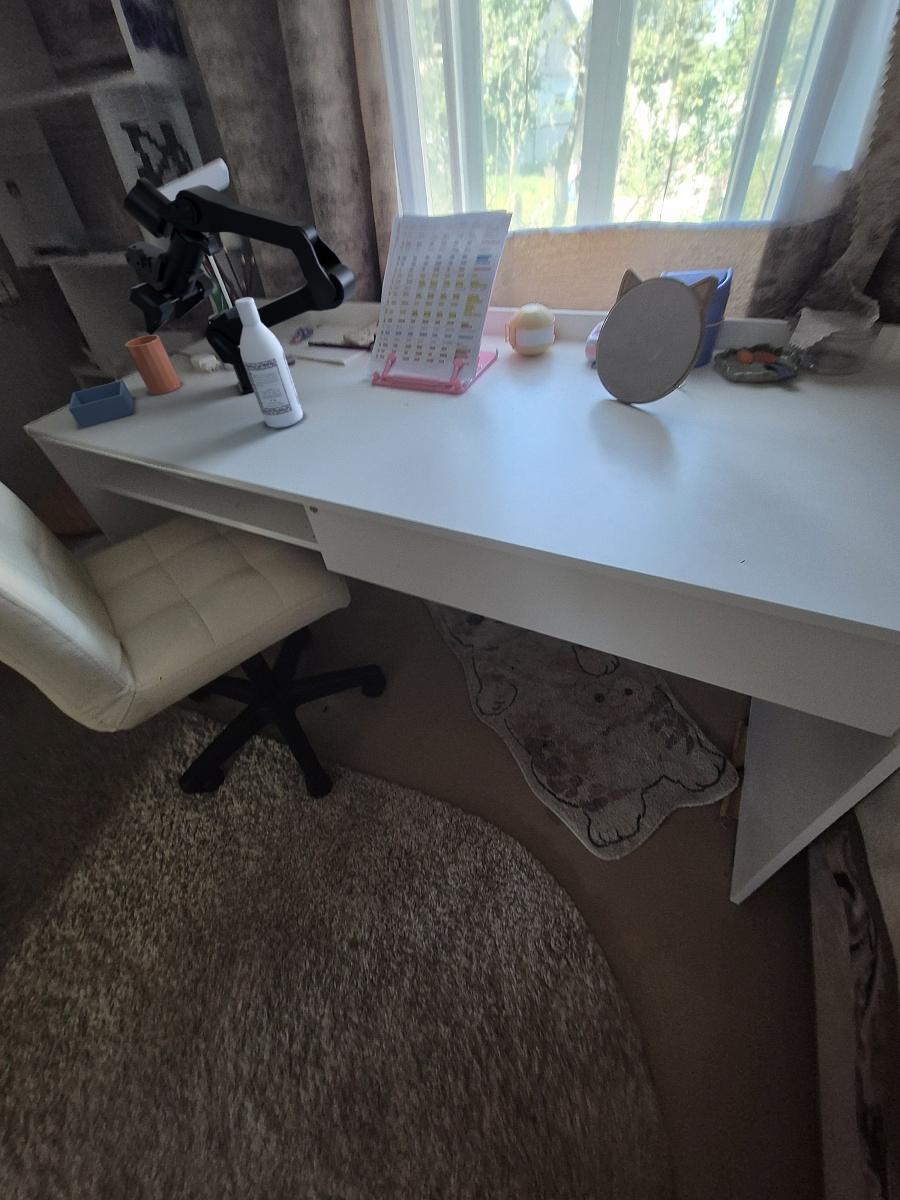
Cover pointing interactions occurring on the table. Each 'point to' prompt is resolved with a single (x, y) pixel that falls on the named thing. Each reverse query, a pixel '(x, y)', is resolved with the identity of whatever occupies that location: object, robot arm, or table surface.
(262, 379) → the bath foam
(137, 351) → the cup
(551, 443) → the table surface
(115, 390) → the tub
